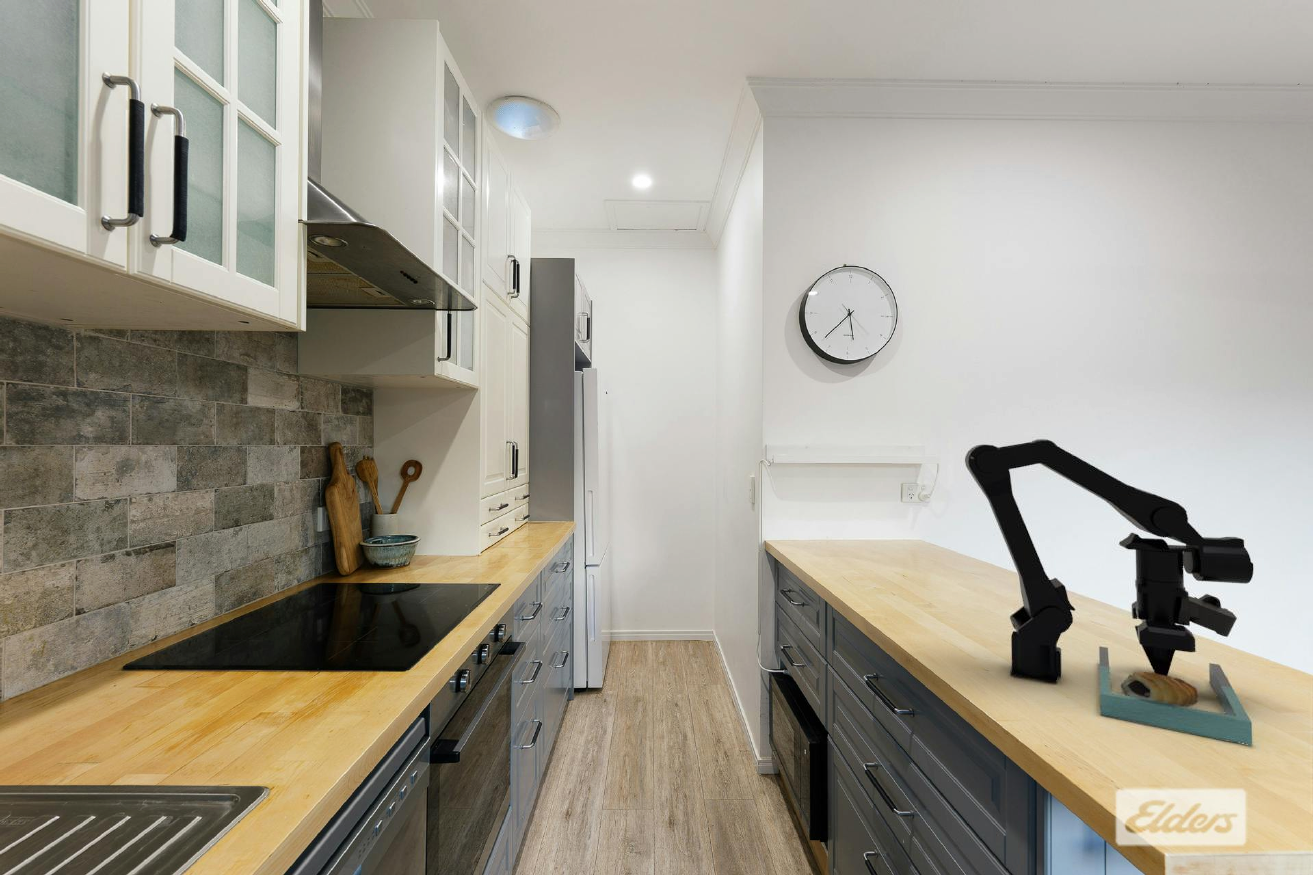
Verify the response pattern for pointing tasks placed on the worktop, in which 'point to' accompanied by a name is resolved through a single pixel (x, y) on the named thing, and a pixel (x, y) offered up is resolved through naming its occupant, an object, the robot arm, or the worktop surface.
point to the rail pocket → (1180, 709)
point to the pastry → (1159, 688)
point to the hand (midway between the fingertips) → (1161, 678)
